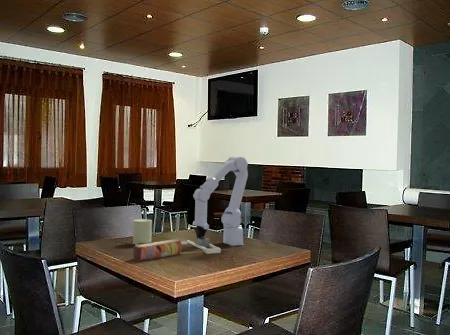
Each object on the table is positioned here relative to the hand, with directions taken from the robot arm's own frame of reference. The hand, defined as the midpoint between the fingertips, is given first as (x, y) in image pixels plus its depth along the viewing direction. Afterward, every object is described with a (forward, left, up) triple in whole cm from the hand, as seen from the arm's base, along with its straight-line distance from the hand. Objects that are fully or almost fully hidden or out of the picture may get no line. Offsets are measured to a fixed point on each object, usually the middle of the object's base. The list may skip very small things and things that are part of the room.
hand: (200, 242), depth 205 cm
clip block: (0, +4, -2) cm, 4 cm away
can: (+23, -19, -3) cm, 30 cm away
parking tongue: (+6, -9, -2) cm, 11 cm away
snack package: (+26, +13, -3) cm, 29 cm away
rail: (0, +3, -2) cm, 4 cm away
